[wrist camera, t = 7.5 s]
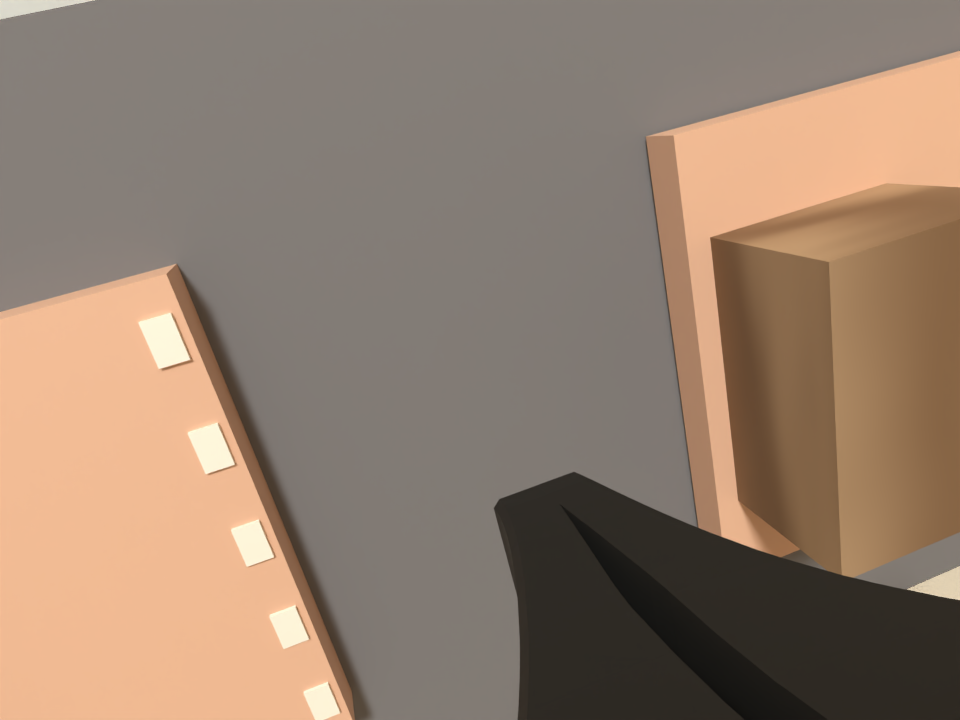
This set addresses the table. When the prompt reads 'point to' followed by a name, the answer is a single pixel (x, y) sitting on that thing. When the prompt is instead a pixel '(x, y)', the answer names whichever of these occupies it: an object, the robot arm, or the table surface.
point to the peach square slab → (820, 315)
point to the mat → (413, 261)
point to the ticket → (143, 526)
